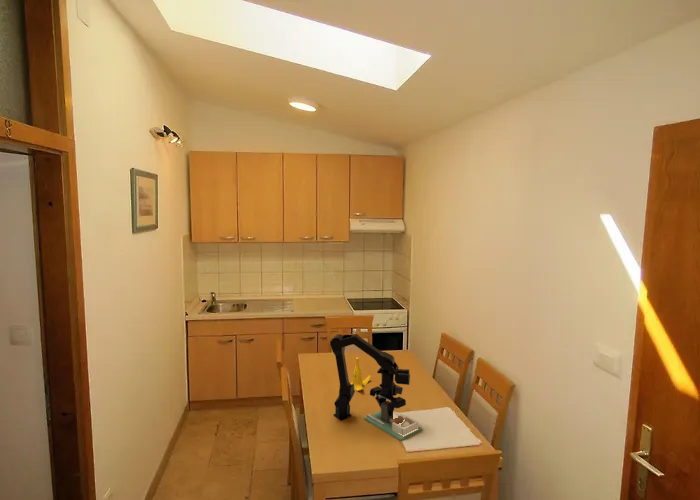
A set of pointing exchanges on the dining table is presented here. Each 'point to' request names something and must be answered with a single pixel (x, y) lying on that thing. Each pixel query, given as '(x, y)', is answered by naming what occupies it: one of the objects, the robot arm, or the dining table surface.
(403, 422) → the ball
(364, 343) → the robot arm
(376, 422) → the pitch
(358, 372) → the banana peel
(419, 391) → the dining table surface
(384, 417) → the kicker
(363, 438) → the dining table surface
